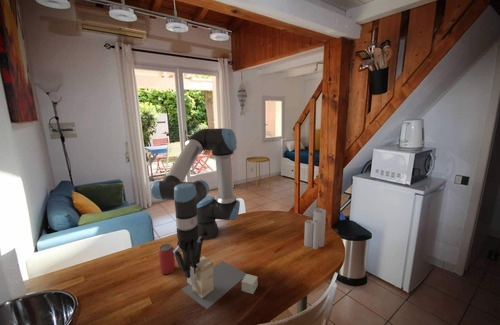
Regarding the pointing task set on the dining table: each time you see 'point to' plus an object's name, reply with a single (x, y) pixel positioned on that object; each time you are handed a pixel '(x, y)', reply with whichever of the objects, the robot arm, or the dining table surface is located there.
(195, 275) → the beech block
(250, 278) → the sage cube
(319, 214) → the vase
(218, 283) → the rubber mat
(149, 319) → the dining table surface
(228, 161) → the robot arm
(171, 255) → the beer can
